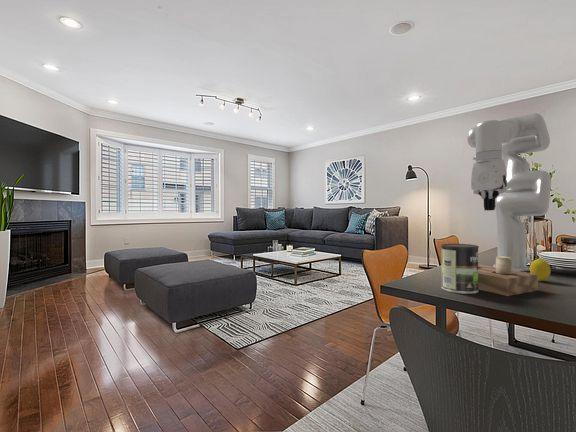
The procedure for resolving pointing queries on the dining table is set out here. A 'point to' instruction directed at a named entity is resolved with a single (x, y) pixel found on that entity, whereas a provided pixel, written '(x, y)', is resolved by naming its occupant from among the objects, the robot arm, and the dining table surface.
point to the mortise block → (506, 281)
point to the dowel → (503, 265)
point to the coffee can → (460, 268)
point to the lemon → (540, 269)
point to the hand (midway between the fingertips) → (489, 210)
